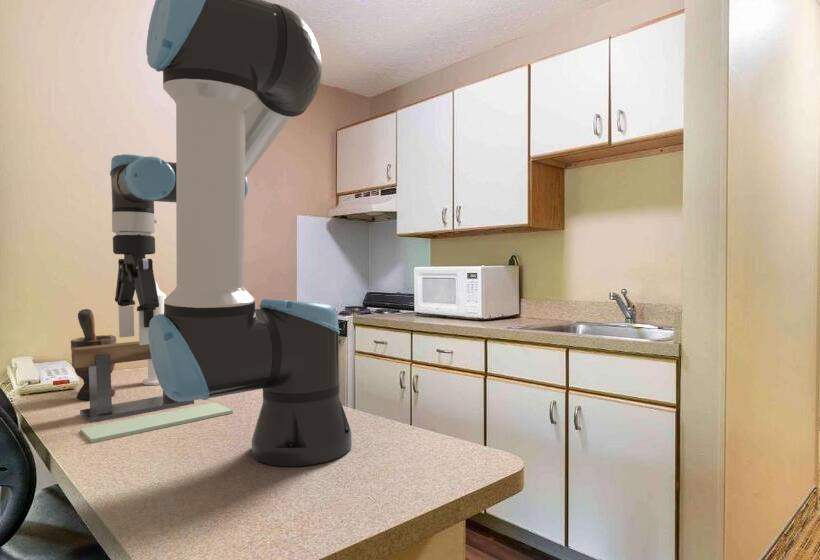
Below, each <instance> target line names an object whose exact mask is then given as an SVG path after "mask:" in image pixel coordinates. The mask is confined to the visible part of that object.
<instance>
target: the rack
mask: <svg viewBox="0 0 820 560" xmlns="http://www.w3.org/2000/svg"><path fill="white" fill-rule="evenodd" d="M111 386H112V373H111V363H110V354H106V355H97V356H95V366H91V367H89V393H90V400H89V408H86V409H85V408H83V409H80V410H79V414H80V416H82V417H83V418H84V420H86V421H87V422H88V423H89V424H91V423H96V422H101V421H105V420H106V421H107V420H112V419H117V418H122V417H123V418H124V417H127V416H128V417H129V416H132V415H133V416H134V415H137V414H138V415H139V414H143V413H150V412H154V411H160V410H166V409H171V408H176V407H181V406H187V405H191V404H195V400H191V401H182V402H179V401H175V400H172V399H171V398H169V397H168V396H167V395H166V394H165V392H164V391H163V390H162V395H161V396H154V397H148V398H142V399H138V400H130V401H125V402H120V403H118V402H117V403H114V404H113V403H112V402H113V401H112V400H113V399H112V397H113V396H111Z"/></svg>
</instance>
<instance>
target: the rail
mask: <svg viewBox="0 0 820 560" xmlns="http://www.w3.org/2000/svg"><path fill="white" fill-rule="evenodd" d="M106 354H110V363H111V364H115V365H116V364H122V363H128V362H138V361H143V360H144V361H145V360H147V361H148V359H152V358H151V353H150V347H149V344H147V345H139V340H138V341H129V342H120V343H119V342H118V343H117V342H116V344H106V345H96V346H86V347H77V348H72V351H71V367H73V368H74V367H75V368H82V367H91V366H95V356H97V355H106Z"/></svg>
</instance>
